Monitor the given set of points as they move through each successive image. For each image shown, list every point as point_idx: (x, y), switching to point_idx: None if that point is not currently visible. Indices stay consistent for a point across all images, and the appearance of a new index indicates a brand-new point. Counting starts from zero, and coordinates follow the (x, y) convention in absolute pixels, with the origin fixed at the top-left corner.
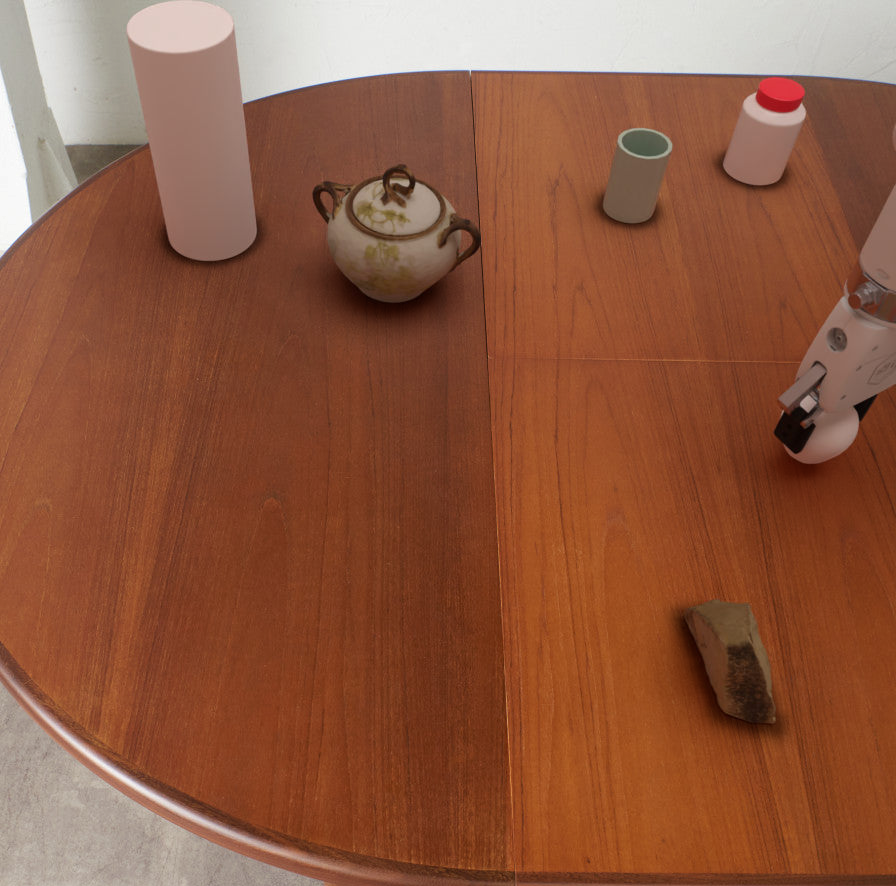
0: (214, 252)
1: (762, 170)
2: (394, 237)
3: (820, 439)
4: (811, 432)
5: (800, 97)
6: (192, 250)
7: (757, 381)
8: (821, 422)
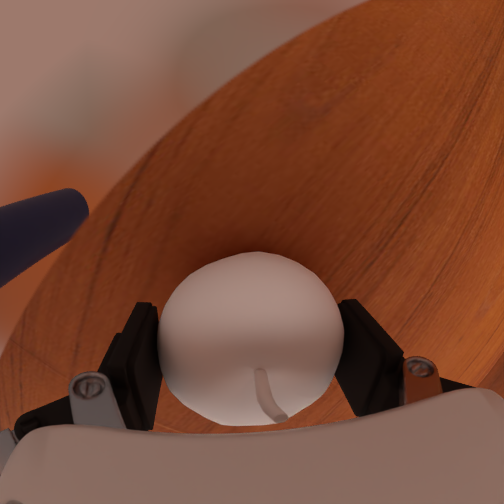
0: None
1: None
2: None
3: (333, 310)
4: (382, 339)
5: None
6: None
7: (188, 411)
8: (319, 356)
